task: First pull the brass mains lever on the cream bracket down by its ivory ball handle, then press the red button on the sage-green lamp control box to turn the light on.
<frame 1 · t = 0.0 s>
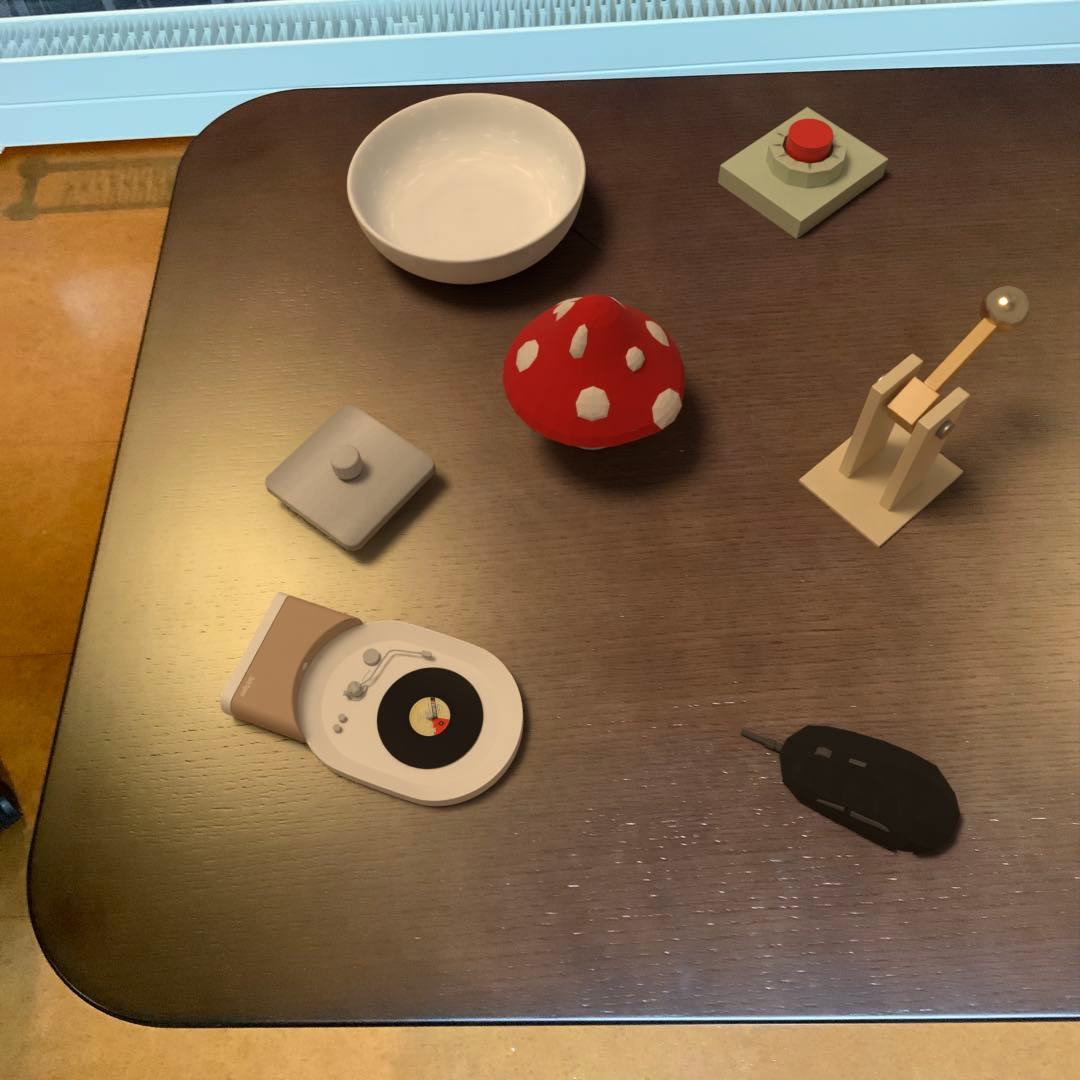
serving bowl: (472, 231, 97), on the table
mains lever: (959, 356, 73), point 12 cm above the table, hinge at 25.0°
gaming mouse: (842, 781, 71), on the table
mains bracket: (877, 483, 82), on the table
lamp box: (799, 180, 99), on the table
decorative mushroom: (591, 429, 86), on the table
lamp button: (809, 140, 95), point 5 cm above the table, slide at 0.2 cm
light switch: (356, 492, 83), on the table
record player: (386, 705, 74), on the table
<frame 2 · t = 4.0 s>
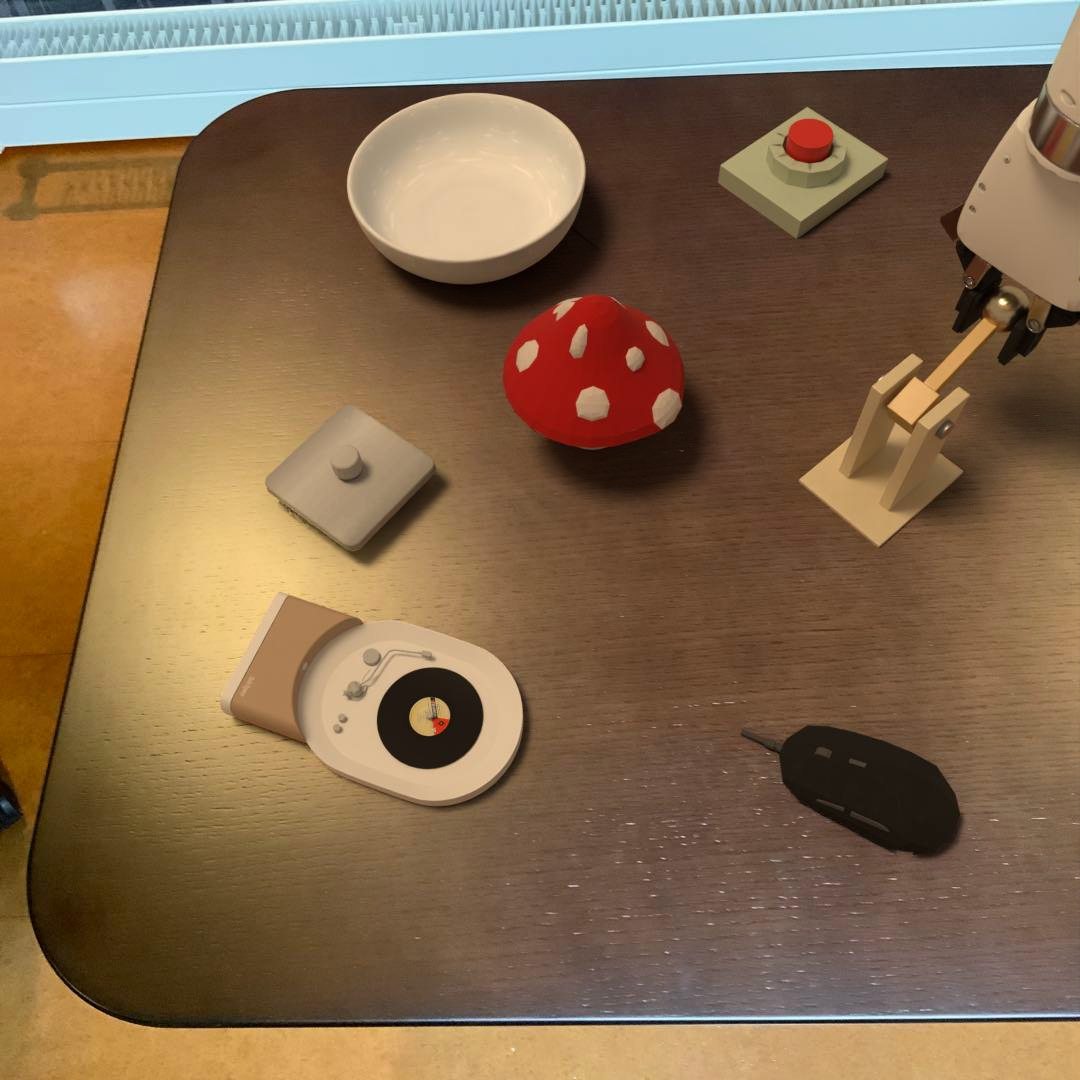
hand: (990, 335, 75), 11 cm above the table, tool pointing down, fingers closed on mains lever, 3 cm apart
mains lever: (959, 356, 73), point 12 cm above the table, hinge at 25.0°, touching gripper
everything else where it was.
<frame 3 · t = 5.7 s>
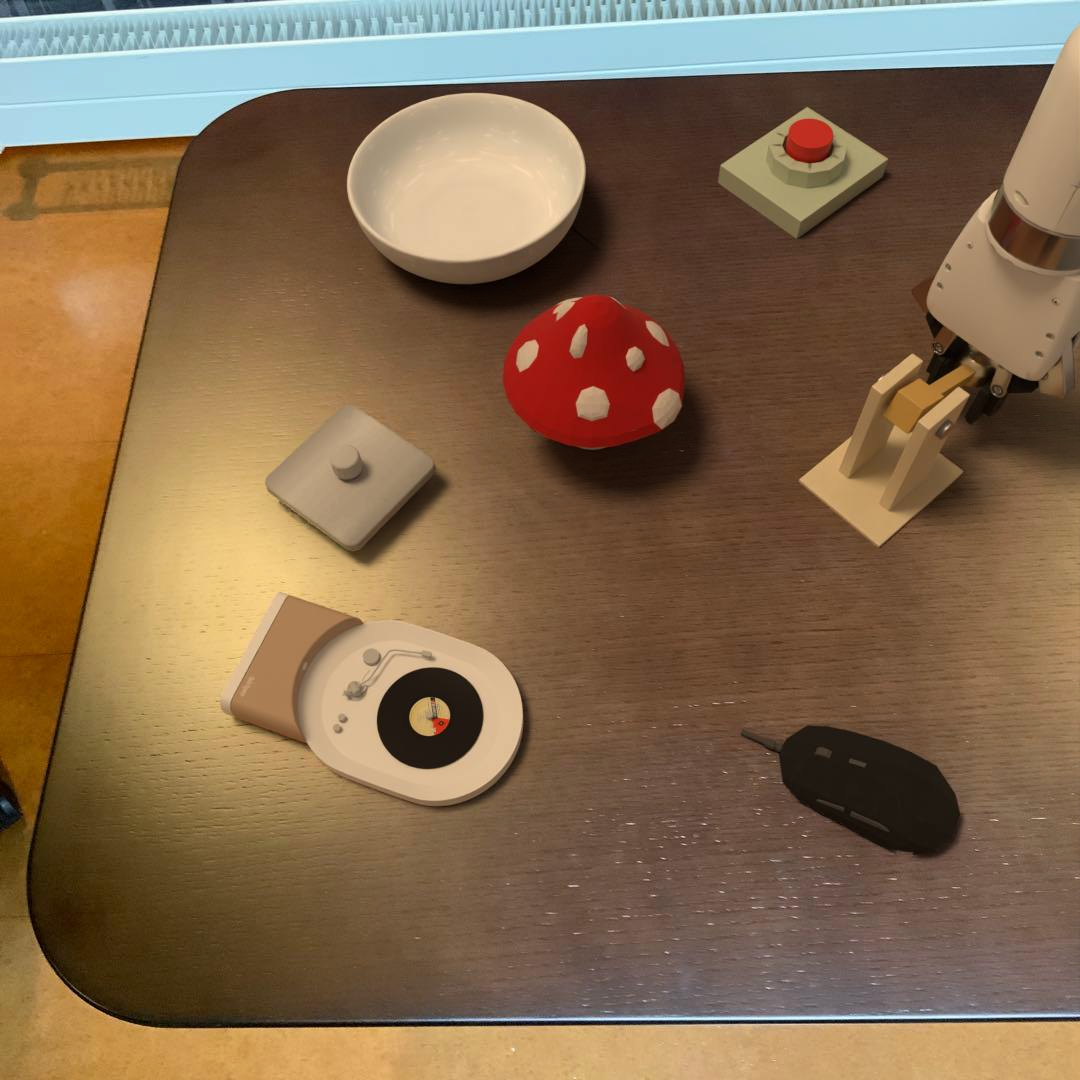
hand: (959, 396, 81), 4 cm above the table, tool pointing down, fingers closed on mains lever, 3 cm apart
mains lever: (946, 385, 76), point 9 cm above the table, hinge at -17.9°, touching gripper
everything else where it was.
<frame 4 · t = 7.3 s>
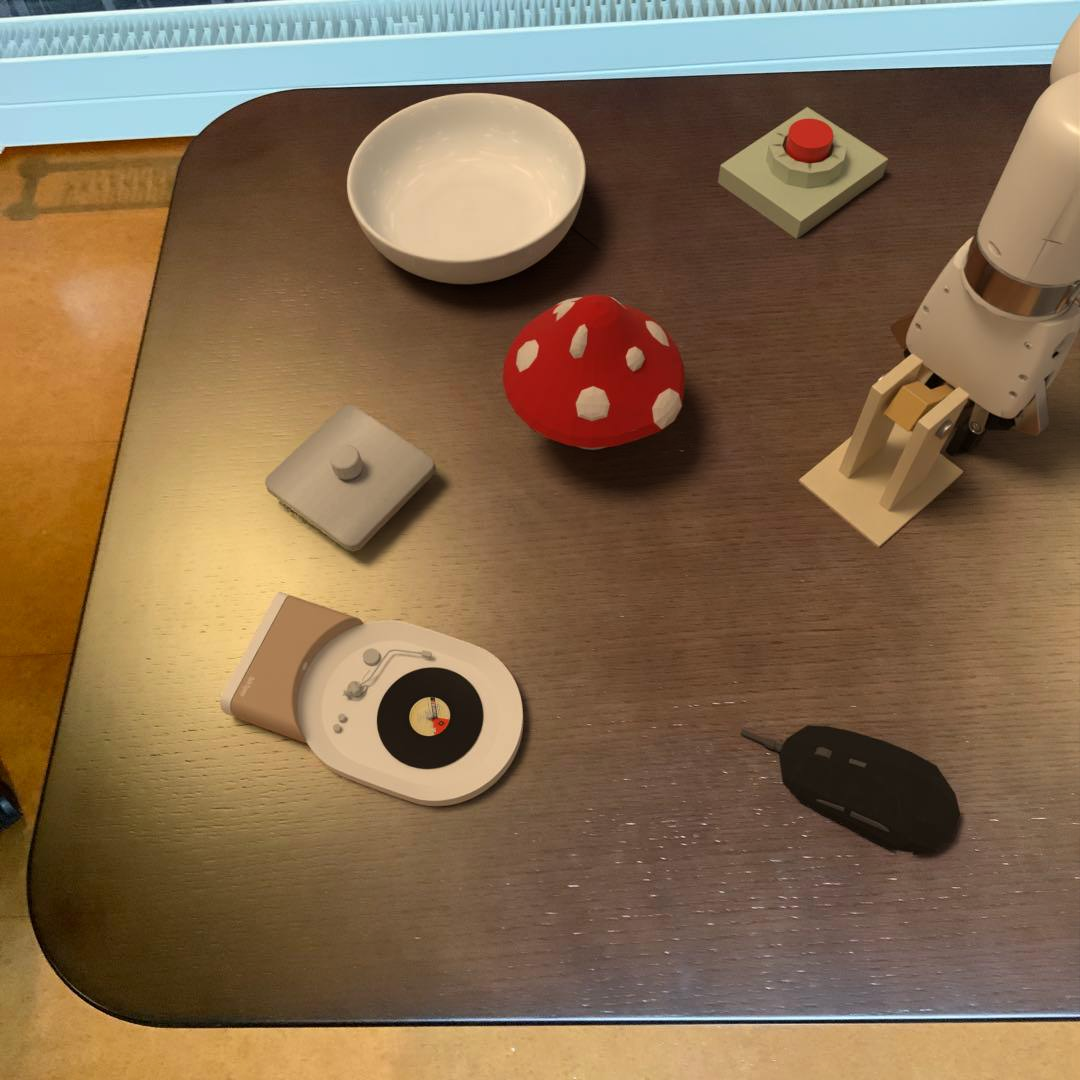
hand: (937, 429, 84), 0 cm above the table, tool pointing down, fingers open, 3 cm apart
mains lever: (938, 396, 77), point 8 cm above the table, hinge at -31.2°
everything else where it was.
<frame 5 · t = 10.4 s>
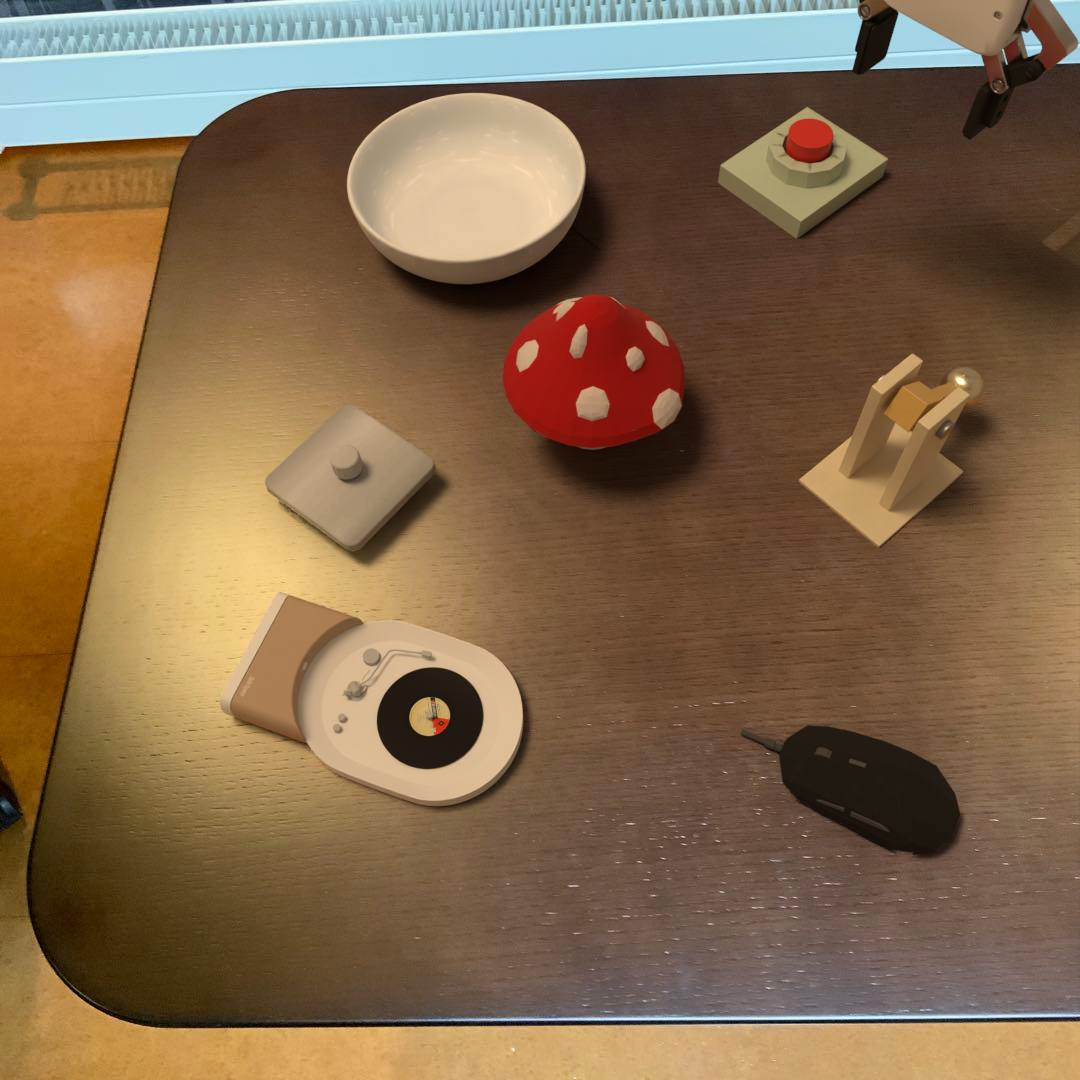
hand: (921, 96, 76), 19 cm above the table, tool pointing down, fingers open, 9 cm apart
mains lever: (939, 396, 77), point 8 cm above the table, hinge at -30.6°
everything else where it was.
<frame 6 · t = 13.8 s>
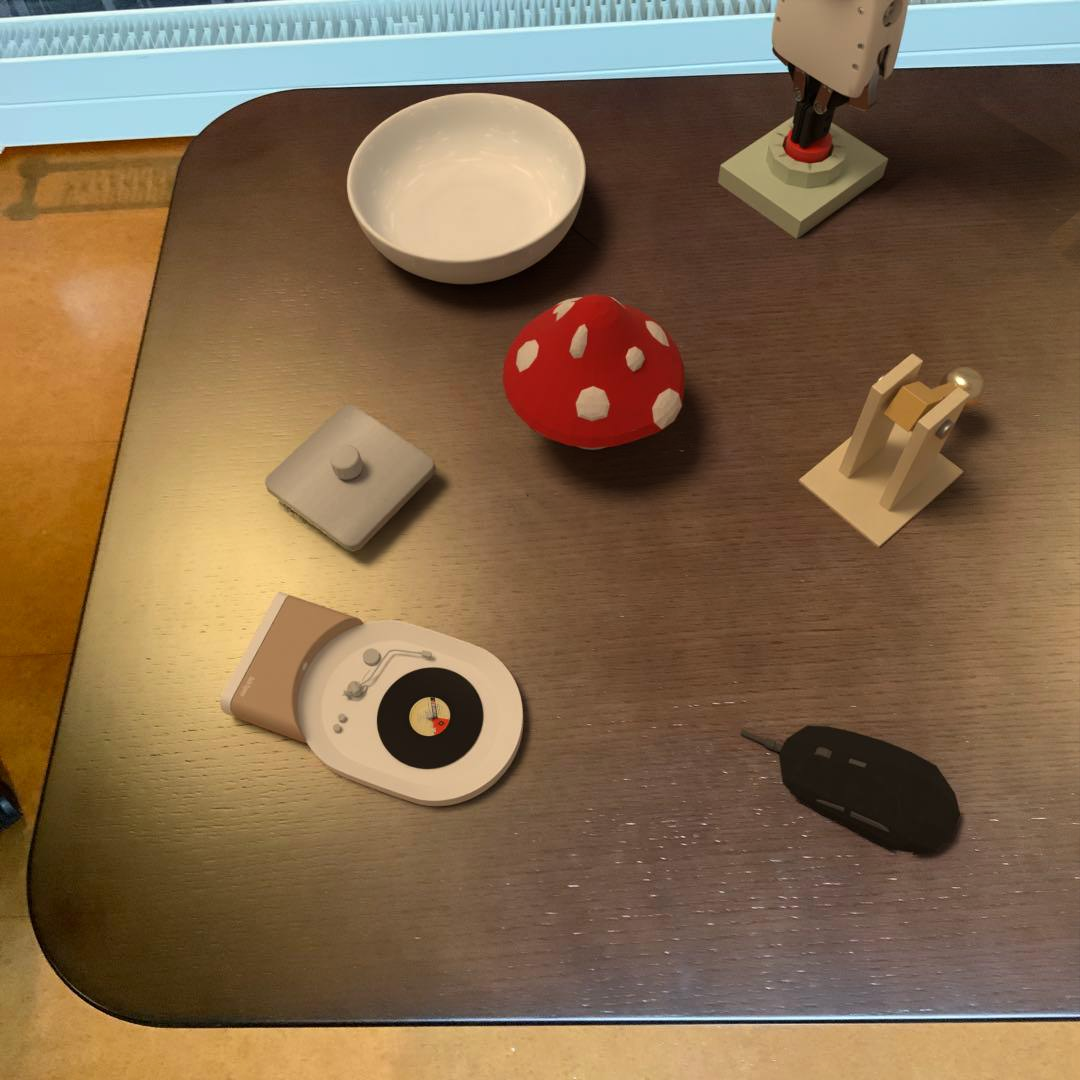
hand: (808, 137, 95), 5 cm above the table, tool pointing down, fingers closed
lamp button: (808, 145, 96), point 4 cm above the table, slide at -0.4 cm, touching gripper
everything else where it was.
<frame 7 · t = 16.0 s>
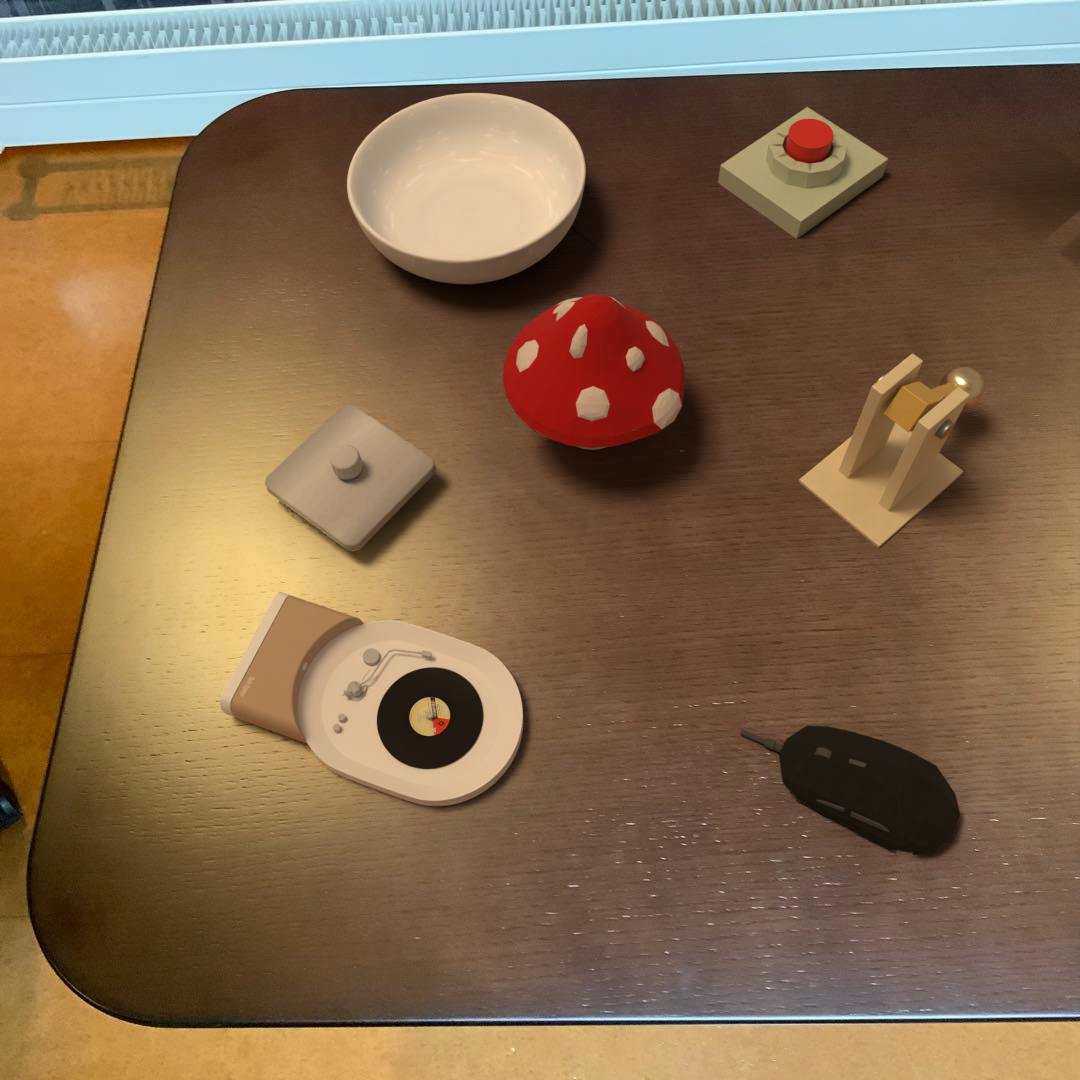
lamp button: (809, 141, 95), point 5 cm above the table, slide at 0.1 cm
everything else where it was.
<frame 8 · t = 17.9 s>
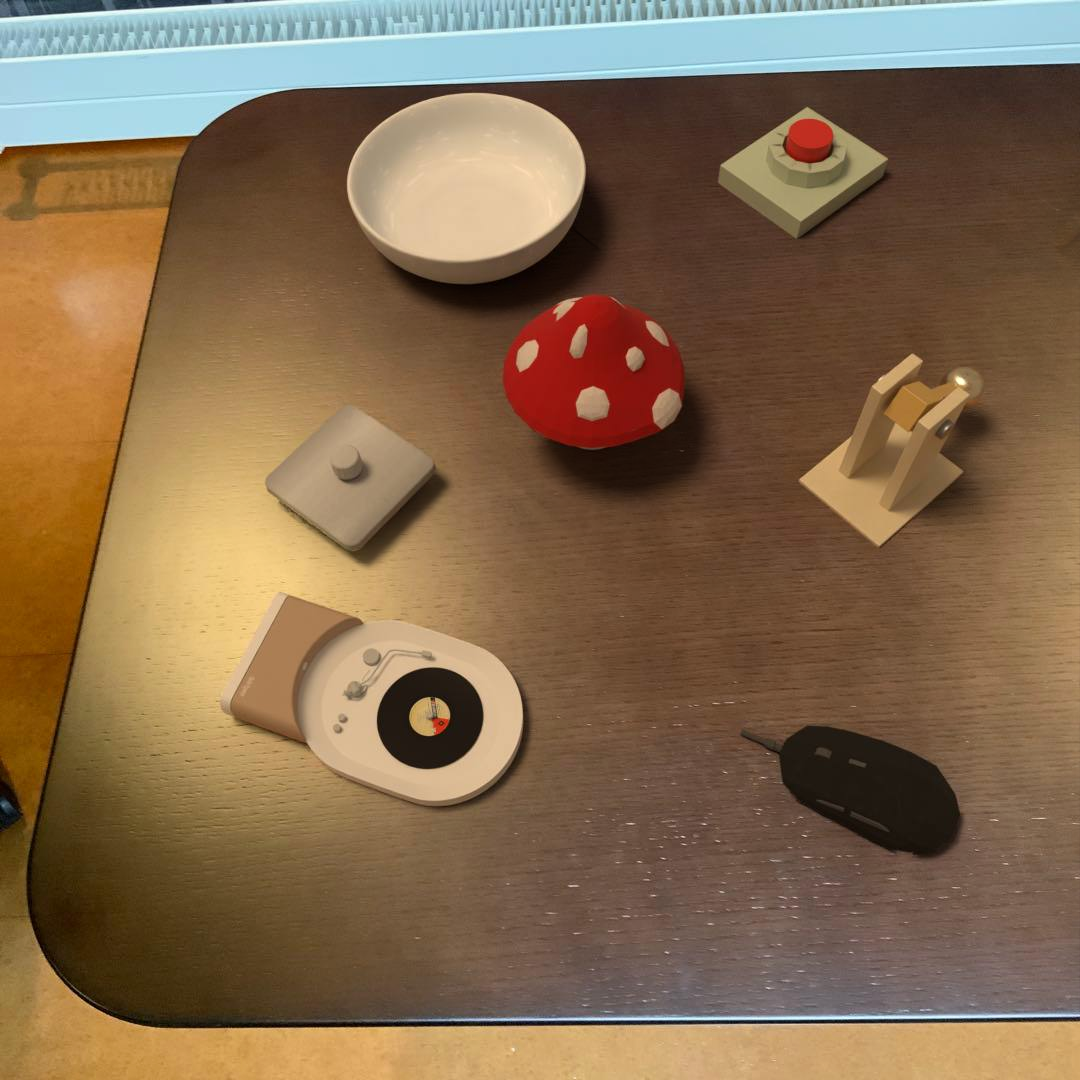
nothing on the table moved.
at the end: mains lever at -31° (first picture: +25°); lamp button pushed in 1.1 cm at the most during the clip, back to where it started at the end; lamp button slide at 0.1 cm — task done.
